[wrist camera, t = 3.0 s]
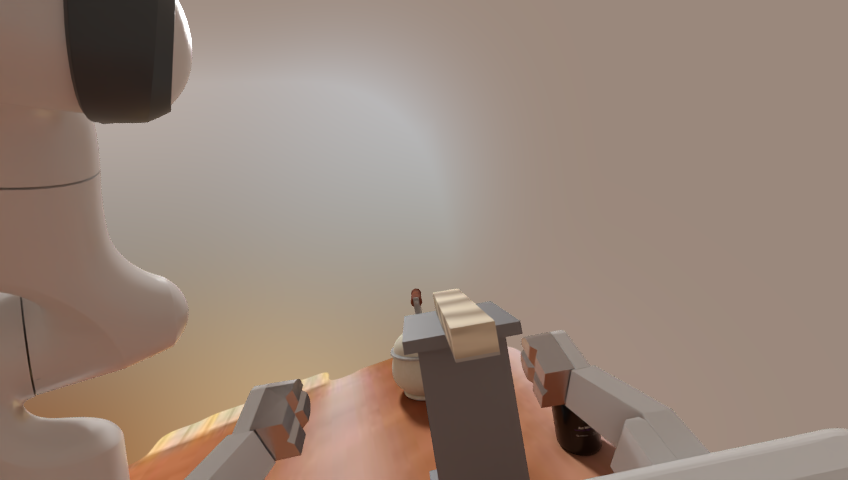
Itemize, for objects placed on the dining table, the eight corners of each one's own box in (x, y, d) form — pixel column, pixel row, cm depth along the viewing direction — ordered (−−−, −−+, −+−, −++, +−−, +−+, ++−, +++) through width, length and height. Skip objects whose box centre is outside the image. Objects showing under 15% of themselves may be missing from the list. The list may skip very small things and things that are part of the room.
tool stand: (557, 543, 35) (520, 321, 35) (438, 569, 34) (402, 342, 34) (517, 463, 48) (490, 301, 48) (431, 480, 47) (404, 316, 47)
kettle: (473, 402, 67) (455, 292, 68) (392, 417, 67) (375, 306, 67) (457, 360, 92) (444, 280, 93) (398, 370, 92) (385, 290, 92)
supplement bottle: (594, 463, 45) (581, 384, 45) (550, 446, 50) (538, 375, 50) (608, 438, 50) (596, 366, 50) (566, 424, 55) (555, 359, 55)
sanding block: (500, 354, 26) (494, 320, 26) (455, 362, 26) (450, 328, 26) (460, 307, 47) (457, 288, 47) (435, 311, 47) (432, 292, 47)
